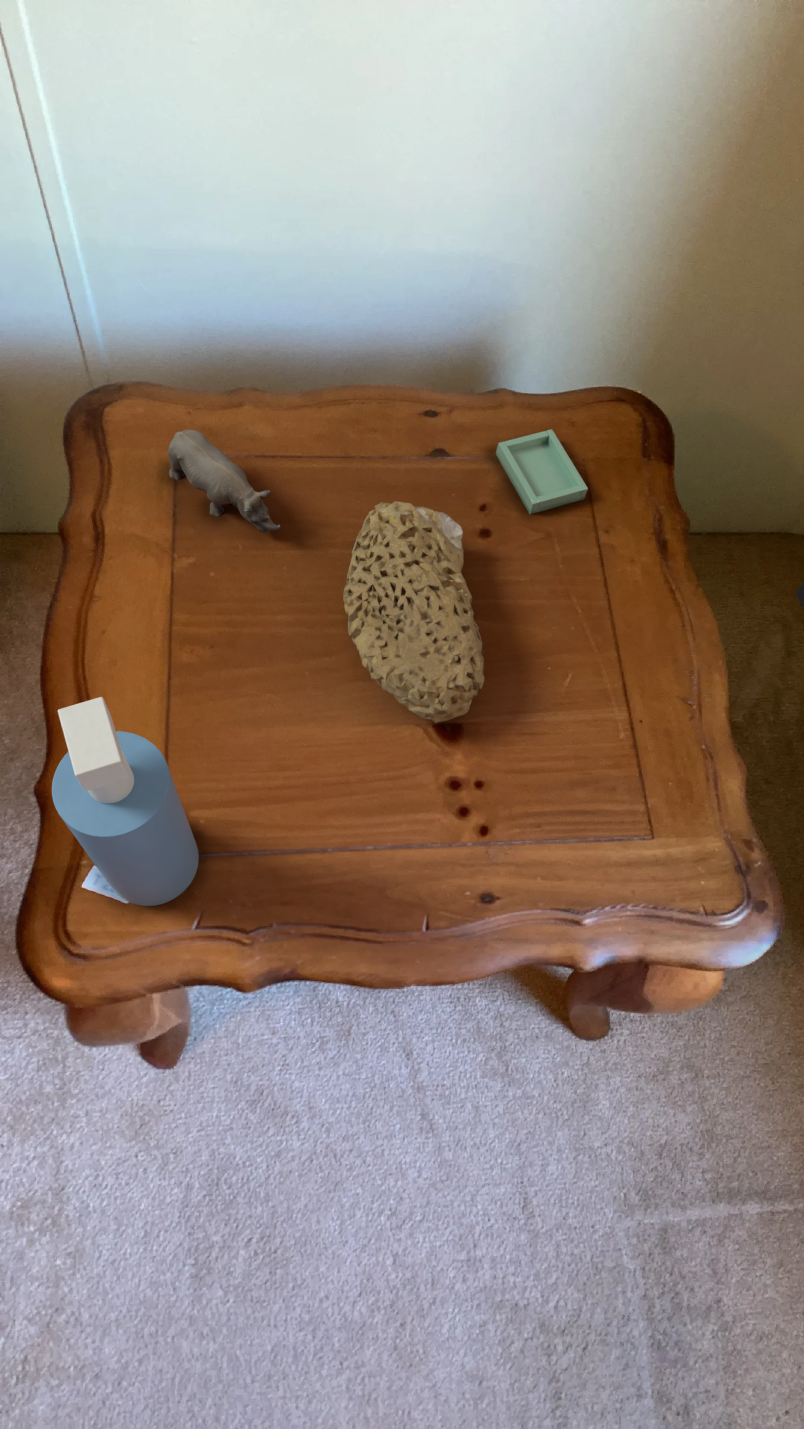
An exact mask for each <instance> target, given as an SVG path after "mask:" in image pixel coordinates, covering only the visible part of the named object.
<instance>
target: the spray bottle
mask: <svg viewBox="0 0 804 1429" xmlns="http://www.w3.org/2000/svg"><path fill="white" fill-rule="evenodd" d="M57 715H58V718H59V721H60V725H61V729H62V733H63V737H64V740H65V743H66V747H67V752H66V754H64V756H63V757H62V758H61V760H60V762H59V764H58V765H57V766H56V769H55V772H54V774H53V778H52V783H51V797H52V801H53V804H54V807H55V809H56V811H57V813H58V815H59V817H60V818H61V819H62V820H63V822H64V823H65V825H66V826H67V828H68V829H69V831H70V832H71V833H72V835H73V836H74V837H75V839H76V840H77V841H78V843H79V844H80V846H81V848H82V849H83V850H84V851H85V853H86V854H87V856H88V857H89V858H90V860H91V861H92V862H93V864H94V865H95V867H96V868H97V870H98V871H99V872H100V874H101V875H102V877H103V878H104V880H105V881H106V882H107V884H108V885H109V887H110V888H111V889H112V890H113V892H114V893H115V894H116V895H117V896H118V897H120V898H121V899H122V900H124V901H125V902H128V903H129V904H132V905H137V906H141V907H153V906H159V905H163V904H166V903H168V902H171V901H173V900H174V899H175V898H177V897H179V896H181V895H182V894H183V893H184V892H185V891H186V890H187V889H188V888H189V886H190V885H191V883H192V882H193V880H194V878H195V876H196V875H197V874H196V873H197V871H198V867H199V860H200V859H199V858H200V856H199V849H198V845H197V842H196V840H195V836H194V834H193V830H192V828H191V826H190V823H189V820H188V817H187V815H186V812H185V809H184V807H183V804H182V801H181V798H180V796H179V793H178V790H177V787H176V784H175V781H174V779H173V776H172V774H171V771H170V768H169V765H168V763H167V761H166V757H164V755H163V753H162V751H161V750H160V749H159V748H158V747H157V746H156V745H155V744H154V743H153V742H151V741H150V740H149V739H148V738H146V737H143V736H142V735H139V734H136V733H133V732H128V731H120V730H117V731H116V728H115V724H114V721H113V717H112V714H111V712H110V710H109V708H108V705H107V703H106V701H105V699H104V697H103V696H99V697H95V698H93V699H89V700H86V701H83V702H79V703H76V704H73V705H69V706H66V707H61V708H59V709H57Z"/></svg>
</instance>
